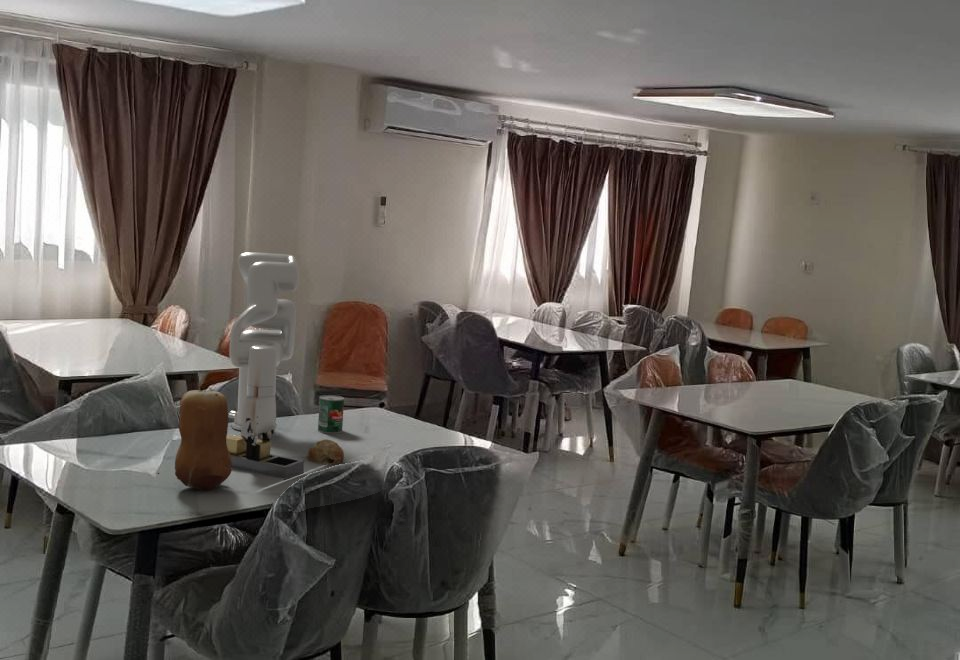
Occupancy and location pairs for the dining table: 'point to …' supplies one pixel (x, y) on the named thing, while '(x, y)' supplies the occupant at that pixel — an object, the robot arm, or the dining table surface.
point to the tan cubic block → (263, 449)
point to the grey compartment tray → (270, 465)
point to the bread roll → (326, 453)
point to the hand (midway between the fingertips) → (258, 456)
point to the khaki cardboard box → (236, 445)
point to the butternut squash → (203, 440)
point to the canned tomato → (330, 414)
